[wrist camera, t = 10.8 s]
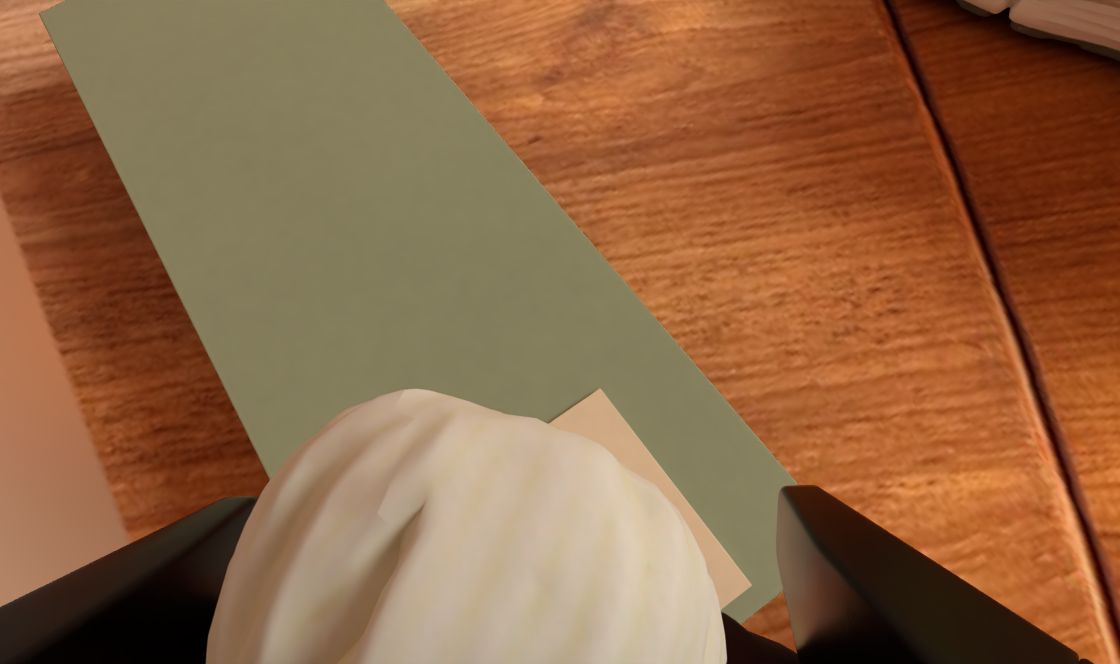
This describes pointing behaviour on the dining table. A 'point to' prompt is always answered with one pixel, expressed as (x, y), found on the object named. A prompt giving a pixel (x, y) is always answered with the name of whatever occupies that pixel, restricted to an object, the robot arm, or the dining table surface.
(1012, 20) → the running shoe
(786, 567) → the robot arm
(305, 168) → the olive green stone
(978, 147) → the dining table surface
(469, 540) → the grandmother figurine
